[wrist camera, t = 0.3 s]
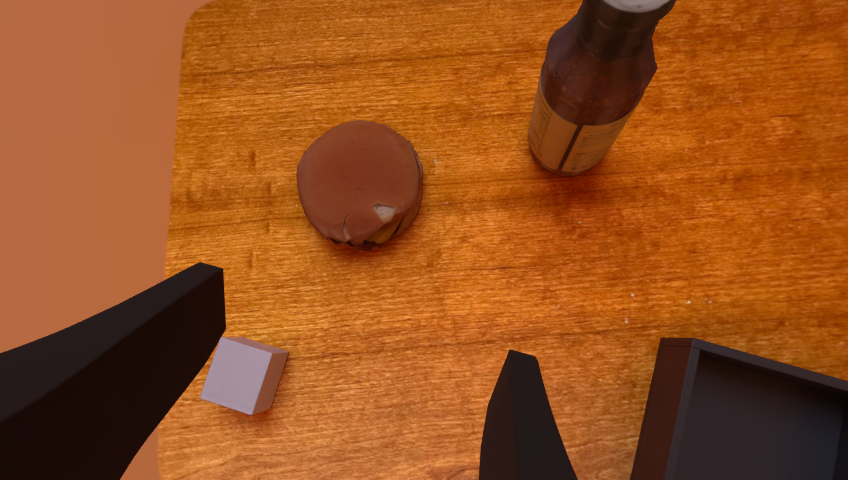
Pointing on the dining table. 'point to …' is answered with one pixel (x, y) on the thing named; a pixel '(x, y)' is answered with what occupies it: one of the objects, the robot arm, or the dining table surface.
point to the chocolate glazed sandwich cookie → (360, 184)
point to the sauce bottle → (593, 81)
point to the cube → (244, 375)
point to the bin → (740, 418)
